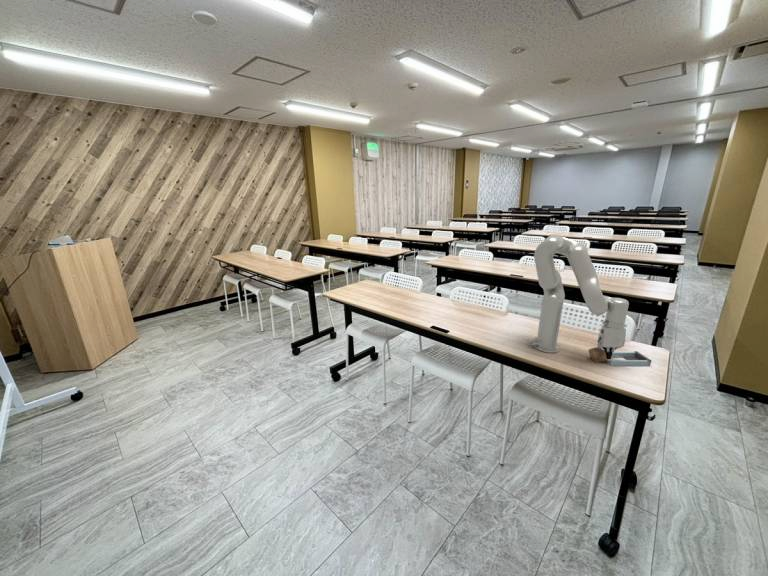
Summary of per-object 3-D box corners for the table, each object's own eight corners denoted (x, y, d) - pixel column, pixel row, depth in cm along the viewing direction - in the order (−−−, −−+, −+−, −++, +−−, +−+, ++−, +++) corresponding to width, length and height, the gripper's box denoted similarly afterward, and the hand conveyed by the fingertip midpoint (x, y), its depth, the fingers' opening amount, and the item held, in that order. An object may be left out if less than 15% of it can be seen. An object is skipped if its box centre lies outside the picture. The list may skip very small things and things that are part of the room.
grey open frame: (611, 365, 143) (612, 360, 142) (598, 356, 151) (600, 351, 150) (650, 365, 142) (651, 360, 141) (635, 356, 150) (636, 351, 150)
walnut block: (595, 362, 145) (593, 354, 144) (590, 357, 150) (588, 349, 149) (606, 360, 144) (605, 351, 143) (601, 355, 149) (599, 346, 148)
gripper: (603, 327, 138) (596, 362, 143) (636, 326, 137) (628, 362, 143) (592, 320, 145) (586, 354, 150) (624, 320, 145) (616, 354, 150)
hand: (606, 358), depth 146 cm, fingers closed
